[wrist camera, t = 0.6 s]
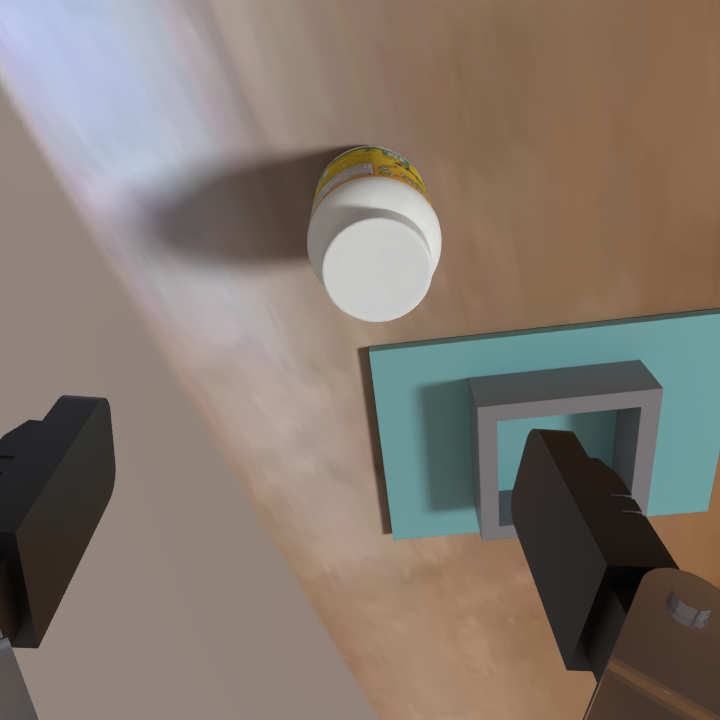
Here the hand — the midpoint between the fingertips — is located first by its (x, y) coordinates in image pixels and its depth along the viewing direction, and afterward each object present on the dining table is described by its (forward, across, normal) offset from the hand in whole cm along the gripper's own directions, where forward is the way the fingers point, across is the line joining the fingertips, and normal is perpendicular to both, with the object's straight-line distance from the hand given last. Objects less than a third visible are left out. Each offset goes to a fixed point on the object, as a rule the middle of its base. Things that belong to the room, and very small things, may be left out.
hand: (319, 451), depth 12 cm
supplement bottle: (+21, -2, 0) cm, 21 cm away
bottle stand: (+21, -14, +12) cm, 28 cm away
